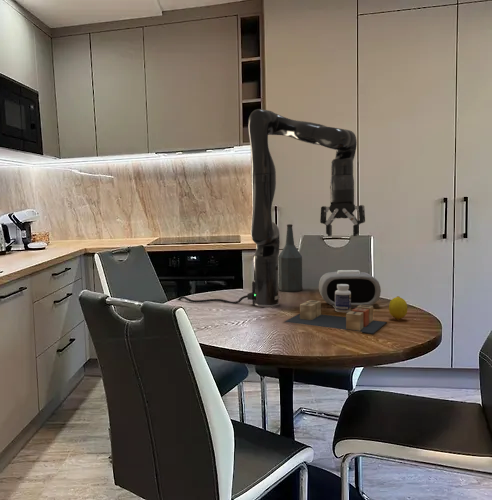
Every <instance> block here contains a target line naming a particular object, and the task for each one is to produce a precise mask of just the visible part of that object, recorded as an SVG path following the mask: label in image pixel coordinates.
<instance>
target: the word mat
mask: <svg viewBox="0 0 492 500" xmlns="http://www.w3.org/2000/svg"><path fill="white" fill-rule="evenodd" d="M284 322H285V323H291V324H299V325H305V326H314V327H321V328H328V329H337V330H343V331H353V332H357V331H356V330H349V329H346V316H341V315H340V316H339V315H331V314H322V313H321V315H320V316H318V317H316V318H315V319H313V320H305V319H300V313H299V314H297V315H294V316H292V317H291V318H289V319H287V320H284ZM387 323H388V322H387V321H382V320H374V319H373V321H372V322H371V323H369V324H368V325H367V326H366V327H363V329H361V330H360V331H358V333H361V334H368V335H375V333H377V332H378V331H379V330H381V328H383V327H384V326H385V325H387Z"/></svg>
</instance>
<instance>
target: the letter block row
mask: <svg viewBox="0 0 492 500" xmlns="http://www.w3.org/2000/svg"><path fill="white" fill-rule="evenodd" d="M357 308H363V309H369V323H371V322H372V321H373V320H374V305H371V306H369V305H359V306H358V307H357ZM345 317H346V329H349V330H348V331H351V330H356V331H355V332H359V331H360V330H361V329H363V312H354V311H352V310H351V311H350V312H346V313H345Z"/></svg>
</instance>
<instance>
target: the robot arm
mask: <svg viewBox="0 0 492 500" xmlns="http://www.w3.org/2000/svg"><path fill="white" fill-rule="evenodd" d="M247 123H248V124H247V125H248V126H247V128H248V129H247V130H248V138H249V145H250V178H251V179H250V184H251V185H250V186H251V206H252V207H251V209H252V213H251V222H250V224H251V225H250V237H251V239H252V241H253V242H254V244H256V245H255V246H256V247H255V253H254V254H253V281H252V282H251V292H249V293H247V295H243V296H241V297H240V298H239V299H238V300H236V301H230V300H228V299H227V300H226V299H222V298H208V299H191V298H188V297H187V296H180V297H178V298H177V301H181V300H182V299H183V300H185V301H187V302H190V303H206V302H207V303H209V302H222V303H225V304H226V303H227V304H232V305H233V304H235V305H237V304H240V303H241V302H242V300H244V299H247V300H249V301H250V300H251V301H252V302H251V303H252V304H251V305H252V306H255V307H257V308H258V307H259V308H274V307H278V306H280V302H279V301H280V300H279V299H280V294H279V271H278V257H279V255H280V240H281V239H280V237H281V235H280V228H279V227H278V225H277V224H276V223H275V222H274V221H273V218H272V217H273V216H272V207H273V202H274V198H275V194H276V189H277V170H276V169H277V168H276V165H275V162H274V158H273V157H272V155H271V152H270V148H269V136H284V137H289V138H291V139H294V140H297V141H300V142H304V143H308V144H311V145H316V146H322V147H324V148H327V149H331V150H335V158H333V159H332V160H331V164H330V185H329V191H330V192H329V193H330V195H329V196H330V197H329V199H330V200H329V201H330V204H329V206H326V205H322V206H321V207H320V219H319V222H320V224H324V225H325V234H326V235H327V236H328V237H331V236H332V235H333V225H332V223H333V222H334V221H335V220H336V219H348V220H350V221H351V223H352V224H353V226H352V236H353V237H358V235H359V234H360V225H361V224H364V223H366V212H365V211H366V209H365V205H363V204H361V205H355V178H354V160H355V157H356V151H357V145H358V142H357V135H356V133H355V132H354V131H353V130H350V129H345V128H339V127H333V126H327V125H325V124H320V123H316V122H311V121H305V120H296V119H291V118H288V117H285V116H282V115H281V114H278V113H276V112H274V111H272V110H268V109H262V108H257V109H254V110H253V111H252V112H251V113H250V115H249V117H248V121H247ZM355 210H356V212H357V213H358V218H357V217H356V215H355V214H354V212H355ZM329 211H330V213H331V214H330V215H329V217H328V218H327V214H328V212H329Z"/></svg>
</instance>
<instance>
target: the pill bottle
mask: <svg viewBox="0 0 492 500" xmlns="http://www.w3.org/2000/svg"><path fill="white" fill-rule="evenodd" d="M337 289H338V290H336V291H335V308H334V311H335V312H339V313H345V314H346V313H348V312H350V311H352V308H351V292H350V291H349V290H348V289H349V285H347V284H337Z"/></svg>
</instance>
